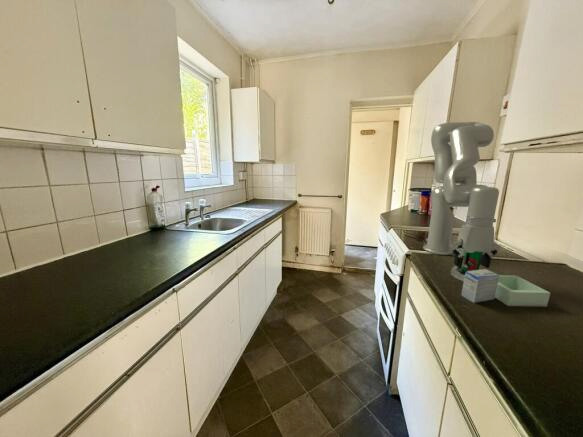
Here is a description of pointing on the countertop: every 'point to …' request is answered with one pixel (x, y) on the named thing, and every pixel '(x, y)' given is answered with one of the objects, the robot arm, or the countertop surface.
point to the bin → (520, 292)
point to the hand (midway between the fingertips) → (471, 266)
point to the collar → (457, 273)
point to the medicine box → (480, 285)
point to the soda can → (472, 261)
